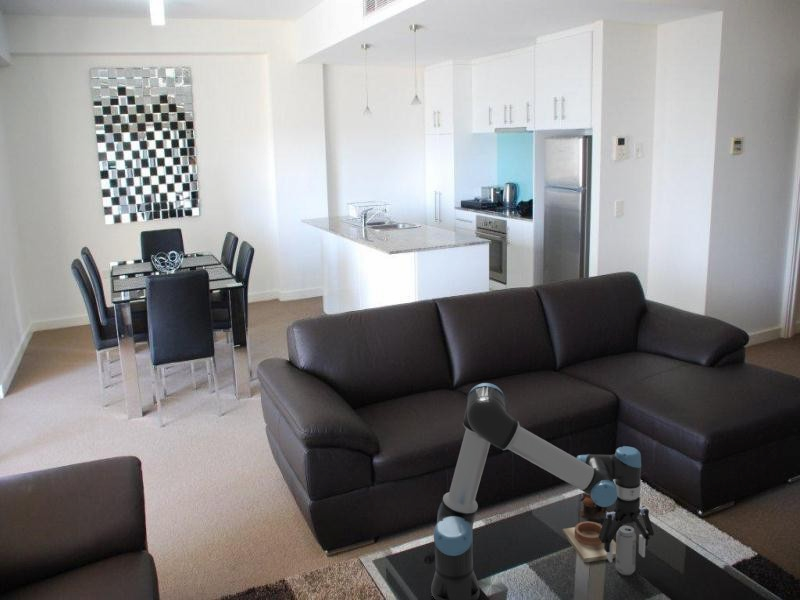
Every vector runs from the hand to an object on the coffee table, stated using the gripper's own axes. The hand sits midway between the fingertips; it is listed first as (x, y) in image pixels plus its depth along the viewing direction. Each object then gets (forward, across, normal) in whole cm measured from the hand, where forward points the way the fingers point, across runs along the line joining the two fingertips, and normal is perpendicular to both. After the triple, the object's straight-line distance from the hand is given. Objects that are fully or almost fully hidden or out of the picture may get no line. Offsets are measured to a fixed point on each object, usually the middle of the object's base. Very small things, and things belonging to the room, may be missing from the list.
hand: (625, 557), depth 221 cm
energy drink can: (+5, 0, 0) cm, 5 cm away
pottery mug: (+5, +5, +34) cm, 35 cm away
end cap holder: (+5, -4, +16) cm, 17 cm away
